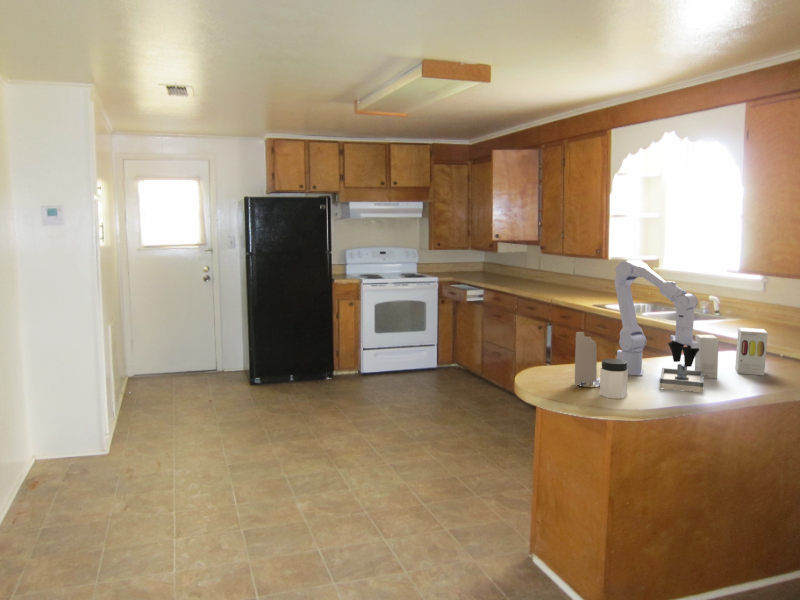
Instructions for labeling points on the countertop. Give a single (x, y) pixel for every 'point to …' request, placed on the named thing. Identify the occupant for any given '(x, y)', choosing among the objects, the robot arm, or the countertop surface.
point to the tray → (691, 384)
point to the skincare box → (707, 355)
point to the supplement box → (751, 351)
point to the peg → (681, 372)
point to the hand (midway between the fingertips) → (682, 363)
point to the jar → (613, 378)
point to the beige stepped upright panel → (585, 359)
